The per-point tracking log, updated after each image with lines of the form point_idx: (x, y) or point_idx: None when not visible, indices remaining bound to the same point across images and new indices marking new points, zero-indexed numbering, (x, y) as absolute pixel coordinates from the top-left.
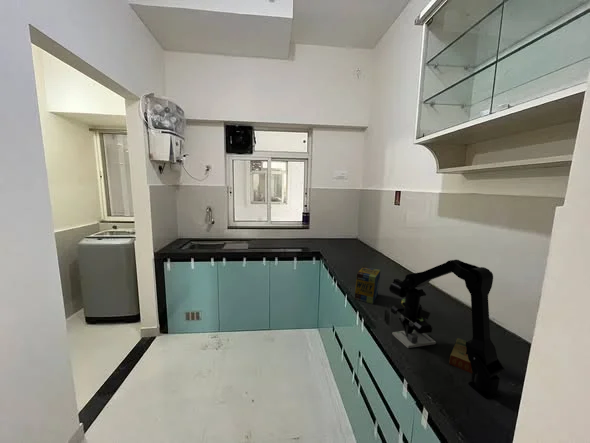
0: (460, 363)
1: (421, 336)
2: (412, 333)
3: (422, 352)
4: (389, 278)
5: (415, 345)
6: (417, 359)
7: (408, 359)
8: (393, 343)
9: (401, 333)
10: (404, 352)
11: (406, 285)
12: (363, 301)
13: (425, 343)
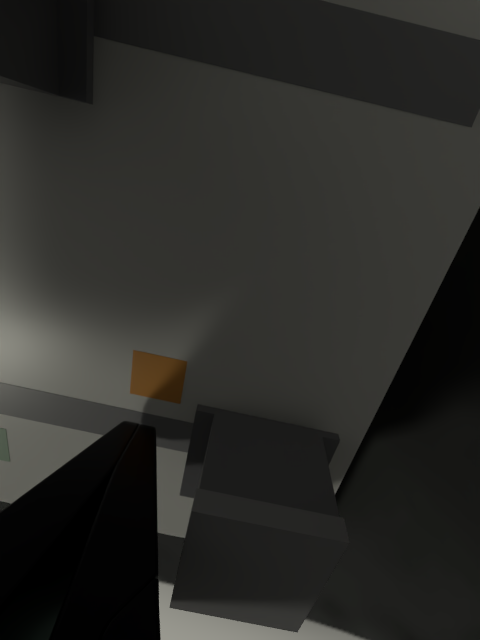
0: None
1: (215, 130)
2: (193, 543)
3: (462, 464)
4: None
5: (339, 469)
6: (477, 585)
7: (414, 628)
8: (166, 568)
9: (18, 420)
10: (328, 591)
11: None
12: None
13: (428, 303)
